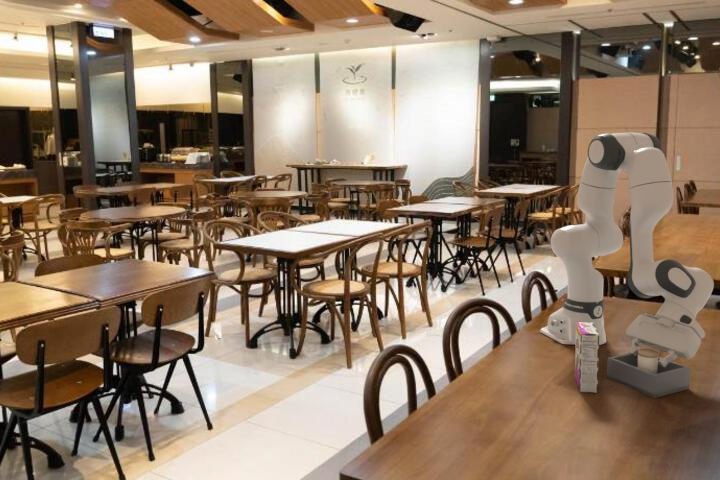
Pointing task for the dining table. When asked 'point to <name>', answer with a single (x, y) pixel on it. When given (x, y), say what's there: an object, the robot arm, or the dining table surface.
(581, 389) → the candy bar box
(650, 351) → the jar
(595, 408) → the dining table surface
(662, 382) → the tote
